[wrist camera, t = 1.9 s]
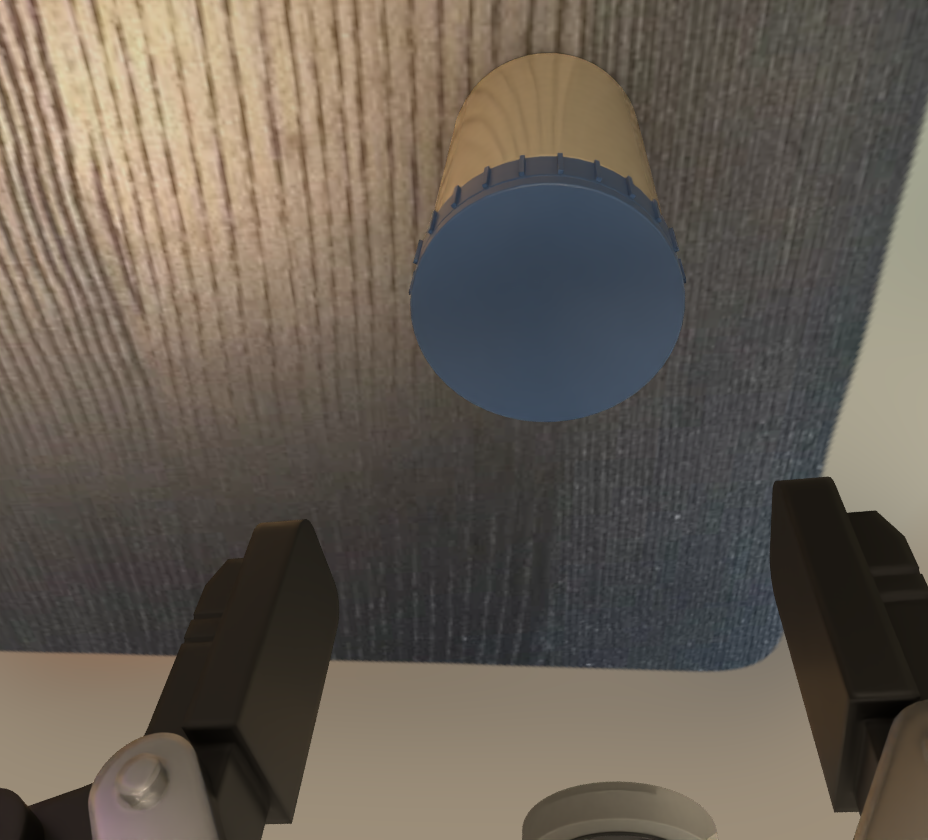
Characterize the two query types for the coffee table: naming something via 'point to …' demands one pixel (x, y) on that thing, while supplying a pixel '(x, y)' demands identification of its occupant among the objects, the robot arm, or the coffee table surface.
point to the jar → (546, 121)
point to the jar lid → (547, 289)
